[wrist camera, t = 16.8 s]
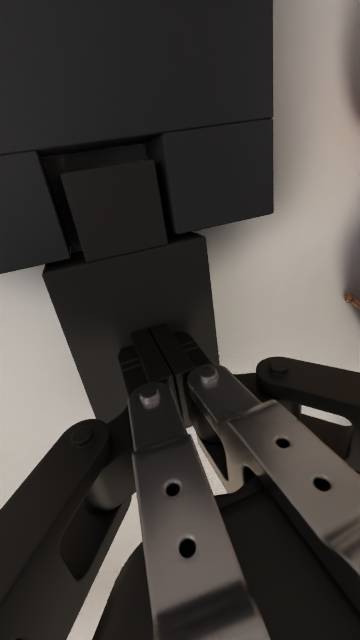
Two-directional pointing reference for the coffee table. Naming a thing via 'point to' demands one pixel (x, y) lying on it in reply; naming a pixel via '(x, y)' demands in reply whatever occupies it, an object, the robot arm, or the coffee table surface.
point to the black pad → (125, 277)
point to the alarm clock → (353, 300)
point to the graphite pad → (135, 108)
